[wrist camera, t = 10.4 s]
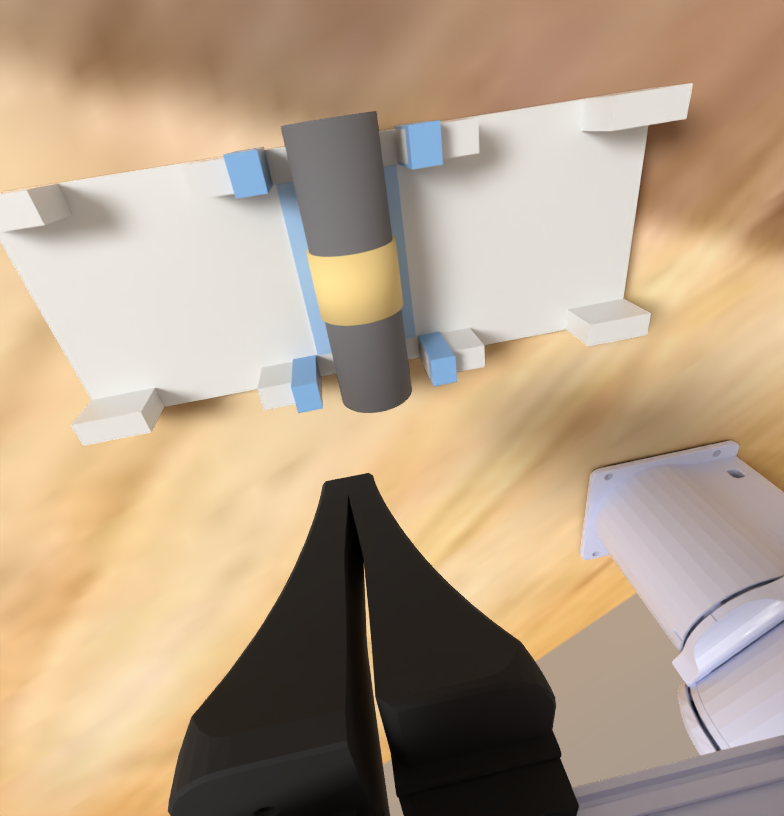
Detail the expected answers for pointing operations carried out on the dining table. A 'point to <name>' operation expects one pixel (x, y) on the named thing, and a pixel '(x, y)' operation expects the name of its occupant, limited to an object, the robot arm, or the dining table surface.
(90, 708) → the dining table surface
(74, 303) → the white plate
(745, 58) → the dining table surface
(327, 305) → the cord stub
